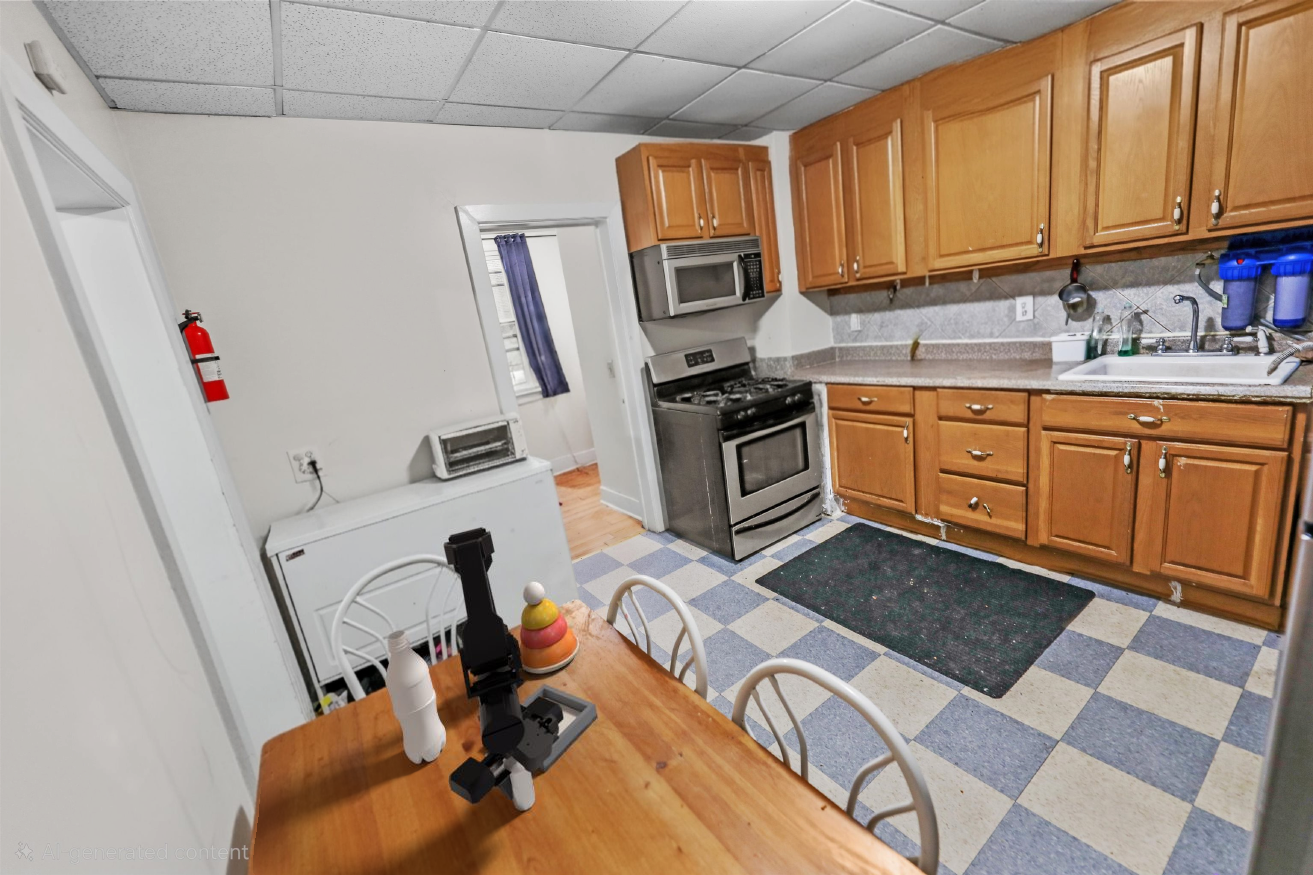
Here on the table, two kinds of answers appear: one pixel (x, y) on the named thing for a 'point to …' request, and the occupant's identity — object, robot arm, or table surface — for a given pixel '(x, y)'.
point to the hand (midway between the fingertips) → (520, 788)
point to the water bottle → (413, 700)
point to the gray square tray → (565, 719)
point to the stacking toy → (544, 633)
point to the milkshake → (520, 784)
